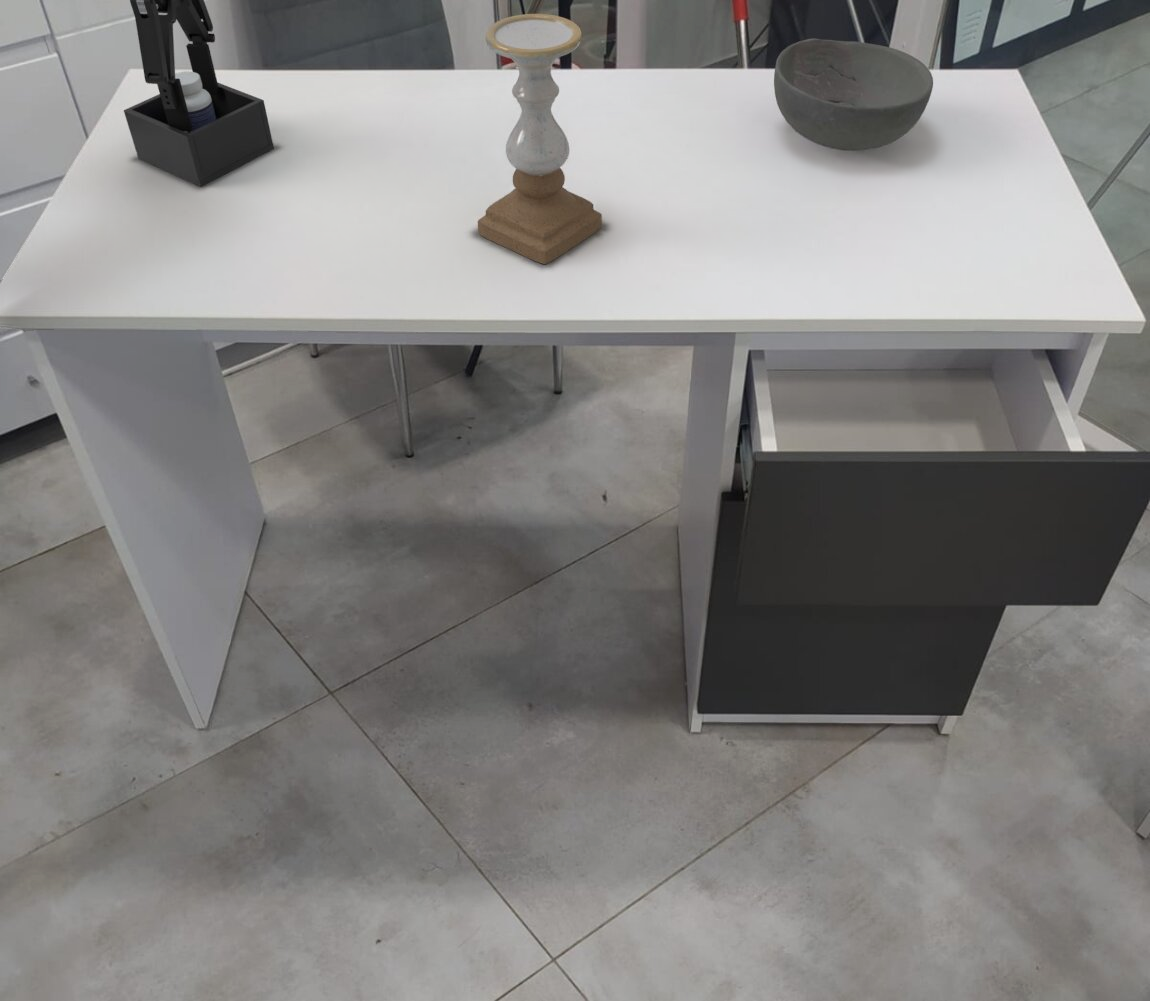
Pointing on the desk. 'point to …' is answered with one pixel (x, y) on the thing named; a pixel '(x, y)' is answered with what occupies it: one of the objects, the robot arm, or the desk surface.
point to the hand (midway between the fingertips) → (195, 111)
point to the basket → (202, 137)
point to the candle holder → (537, 146)
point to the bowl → (850, 92)
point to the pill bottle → (196, 100)
